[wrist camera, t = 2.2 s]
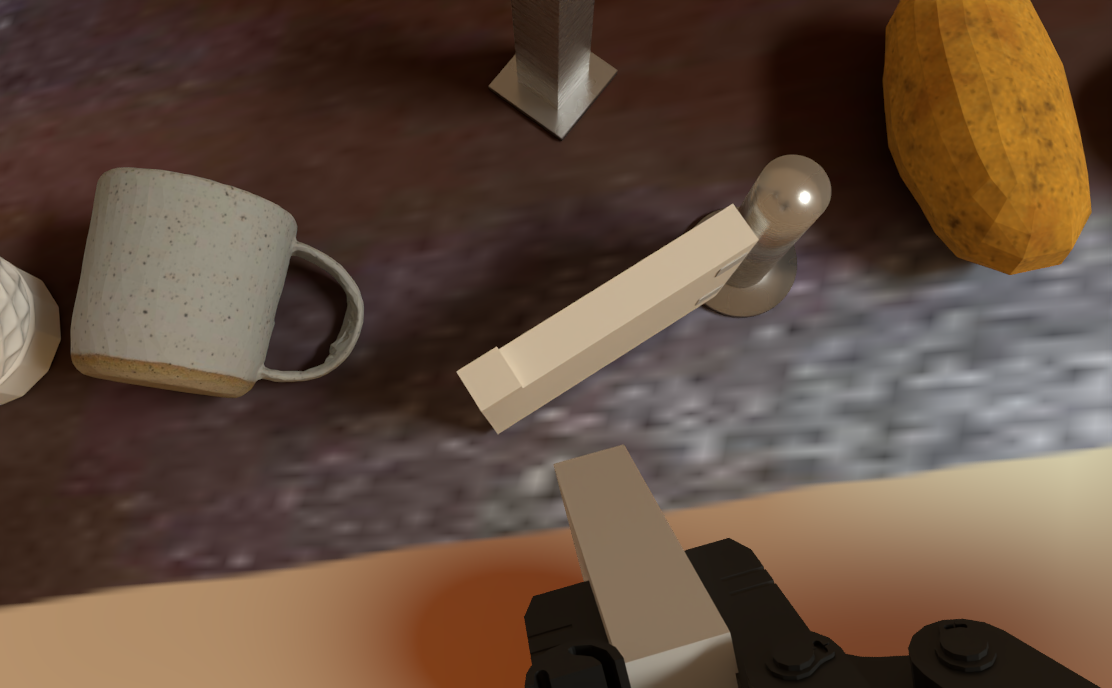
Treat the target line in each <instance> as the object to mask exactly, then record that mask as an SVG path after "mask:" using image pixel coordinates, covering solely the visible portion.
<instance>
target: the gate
mask: <svg viewBox="0 0 1112 688" xmlns="http://www.w3.org/2000/svg"><path fill="white" fill-rule="evenodd" d="M758 240H759V239H758V238H757V237H756V235H755V234H754V232H753V231H752V230H751V228H750V227H749V225H748V224H747V223H746V221H745V220H744V218H743V217H742V216H741V214H740V213H739V211H738V210H737V209H736V207H735V206H734V204H732V205H730V206H729V207H727V208H725V209H724V210H722V211H720V212H719V213H717V214H716V215H714V216H712V217H711V218H709V219H708V220H706V221H704V222H703V223H701V224H700V225H698V226H696V227H695V228H693V229H692V230H690V231H688V232H687V233H685V234H683V235H682V236H680V237H679V238H677V239H675V240H674V241H672V242H671V243H669V244H667V245H666V246H664V247H663V248H661V249H659V250H658V251H656V252H654V253H653V254H651V255H650V256H648V257H646V258H645V259H643V260H642V261H640V262H638V263H637V264H635V265H634V266H632V267H630V268H629V269H627V270H626V271H624V272H622V273H621V274H619V275H617V276H616V277H614V278H613V279H611V280H609V281H608V282H606V283H605V284H603V285H601V286H600V287H598V288H597V289H595V290H593V291H592V292H590V293H589V294H587V295H585V296H584V297H582V298H580V299H579V300H577V301H576V302H574V303H572V304H571V305H569V306H568V307H566V308H564V309H563V310H561V311H560V312H558V313H556V314H555V315H553V316H552V317H550V318H548V319H547V320H545V321H543V322H542V323H540V324H539V325H537V326H535V327H534V328H532V329H531V330H529V331H527V332H526V333H524V334H523V335H521V336H519V337H518V338H516V339H515V340H513V341H511V342H510V343H508V344H506V345H505V346H503V347H502V348H500V349H498V348H497V347H495V348H494V349H492V350H490V351H489V352H487V353H485V354H484V355H482V356H481V357H479V358H477V359H476V360H474V361H473V362H471V363H469V364H468V365H466V366H465V367H463V368H461V369H460V370H458V371H456V372H457V374H458V375H459V377H460V378H461V380H462V382H463V383H464V385H465V386H466V388H467V390H468V391H469V393H470V394H471V396H472V398H473V399H474V401H475V402H476V404H477V406H478V407H479V409H480V410H481V412H482V413H483V415H484V416H485V417H486V419H487V420H488V421H489V423H490V424H491V425H492V427H493V428H494V429H495V431H496V432H497V433H498V434H499V433H500V432H502V431H504V430H505V429H507V428H508V427H510V426H512V425H513V424H515V423H516V422H518V421H519V420H521V419H523V418H524V417H526V416H527V415H529V414H530V413H532V412H534V411H535V410H537V409H538V408H540V407H541V406H543V405H545V404H546V403H548V402H549V401H551V400H553V399H554V398H556V397H557V396H559V395H560V394H562V393H564V392H565V391H567V390H568V389H570V388H571V387H573V386H575V385H576V384H578V383H579V382H581V381H582V380H584V379H586V378H587V377H589V376H590V375H592V374H594V373H595V372H597V371H598V370H600V369H601V368H603V367H605V366H606V365H608V364H609V363H611V362H612V361H614V360H616V359H617V358H619V357H620V356H622V355H623V354H625V353H627V352H628V351H630V350H631V349H633V348H634V347H636V346H638V345H639V344H641V343H642V342H644V341H646V340H647V339H649V338H650V337H652V336H653V335H655V334H657V333H658V332H660V331H661V330H663V329H664V328H666V327H668V326H669V325H671V324H672V323H674V322H675V321H677V320H679V319H680V318H682V317H683V316H685V315H687V314H688V313H690V312H691V311H693V310H694V309H696V308H698V307H699V306H701V305H702V304H704V303H705V302H707V301H709V300H710V299H712V298H713V297H715V296H716V295H717V293H718V292H719V291H720V290H721V288H722V287H723V286H724V284H725V283H726V282H727V280H728V279H729V278H730V277H731V275H732V274H733V273H734V271H735V270H736V269H737V267H738V266H739V265H740V264H741V262H742V261H743V260H744V258H745V257H746V256H747V254H748V253H749V252H750V251H751V249H752V248H753V247H754V245H755V244H756V243H757V241H758Z"/></svg>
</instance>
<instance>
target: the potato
mask: <svg viewBox="0 0 1112 688" xmlns="http://www.w3.org/2000/svg"><path fill="white" fill-rule="evenodd" d="M883 93H884V106H885V117H886V127H887V138H888V147H889V149H890V152H891V154H892V157H893V159H894V162H895V164H896V167H897V169H898V172H899V174H900V177H901V178H902V180H903V181H904V183H905V184H906V186H907V187H908V189H909V190H910V192H911V193H912V195H913V196H914V198H915V199H916V201H917V202H918V204H919V206H920V207H921V209H922V211H923V213H924V214H925V216H926V218H927V220H928V221H929V223H930V225H931V227H932V229H933V230H934V232H935V234H936V235H937V236H938V237H939V238H940V239H941V240H942V241H943V242H944V243H945V244H946V246H947V247H948V248H949V249H950V250H951V251H952V252H953V253H954V254H955V255H956V256H957V257H958V258H961V259H964V260H967V261H970V262H973V263H976V264H979V265H982V266H985V267H988V268H991V269H994V270H997V271H1000V272H1003V273H1006V274H1008V275H1012V274H1017V273H1022V272H1026V271H1031V270H1036V269H1040V268H1045V267H1050V266H1054V265H1059V264H1061V263H1062V262H1063V261H1064V259H1065V258H1066V257H1067V255H1068V254H1069V253H1070V251H1071V250H1072V248H1073V246H1074V245H1075V243H1076V241H1077V239H1078V237H1079V235H1080V233H1081V231H1082V229H1083V227H1084V225H1085V224H1086V222H1087V220H1088V218H1089V216H1090V214H1091V201H1090V191H1089V181H1088V172H1087V166H1086V161H1085V156H1084V151H1083V145H1082V140H1081V135H1080V131H1079V127H1078V122H1077V118H1076V114H1075V110H1074V105H1073V101H1072V98H1071V94H1070V90H1069V86H1068V82H1067V79H1066V75H1065V71H1064V67H1063V64H1062V62H1061V60H1060V58H1059V56H1058V54H1057V52H1056V50H1055V48H1054V46H1053V44H1052V42H1051V40H1050V38H1049V36H1048V34H1047V32H1046V30H1045V28H1044V26H1043V24H1042V22H1041V20H1040V19H1039V17H1038V15H1037V13H1036V11H1035V9H1034V7H1033V5H1032V3H1031V1H1030V0H901V1H900V2H899V4H898V6H897V8H896V10H895V12H894V14H893V15H892V17H891V19H890V21H889V23H888V25H887V26H886V39H885V65H884V73H883Z"/></svg>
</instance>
